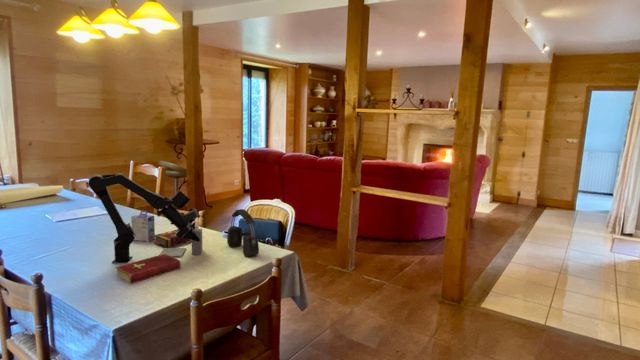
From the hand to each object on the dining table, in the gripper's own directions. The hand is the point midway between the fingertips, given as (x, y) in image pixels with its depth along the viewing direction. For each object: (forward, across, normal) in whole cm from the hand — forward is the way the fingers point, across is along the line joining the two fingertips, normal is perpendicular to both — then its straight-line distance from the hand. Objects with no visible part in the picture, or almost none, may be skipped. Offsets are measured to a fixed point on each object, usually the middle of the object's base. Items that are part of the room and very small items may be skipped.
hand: (200, 239), depth 179 cm
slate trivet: (-4, 0, +14) cm, 14 cm away
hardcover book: (-7, -20, +18) cm, 28 cm away
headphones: (+18, +2, -9) cm, 20 cm away
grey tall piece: (+4, 0, +6) cm, 7 cm away
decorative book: (-6, +16, +16) cm, 24 cm away
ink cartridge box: (-17, +22, +27) cm, 38 cm away
